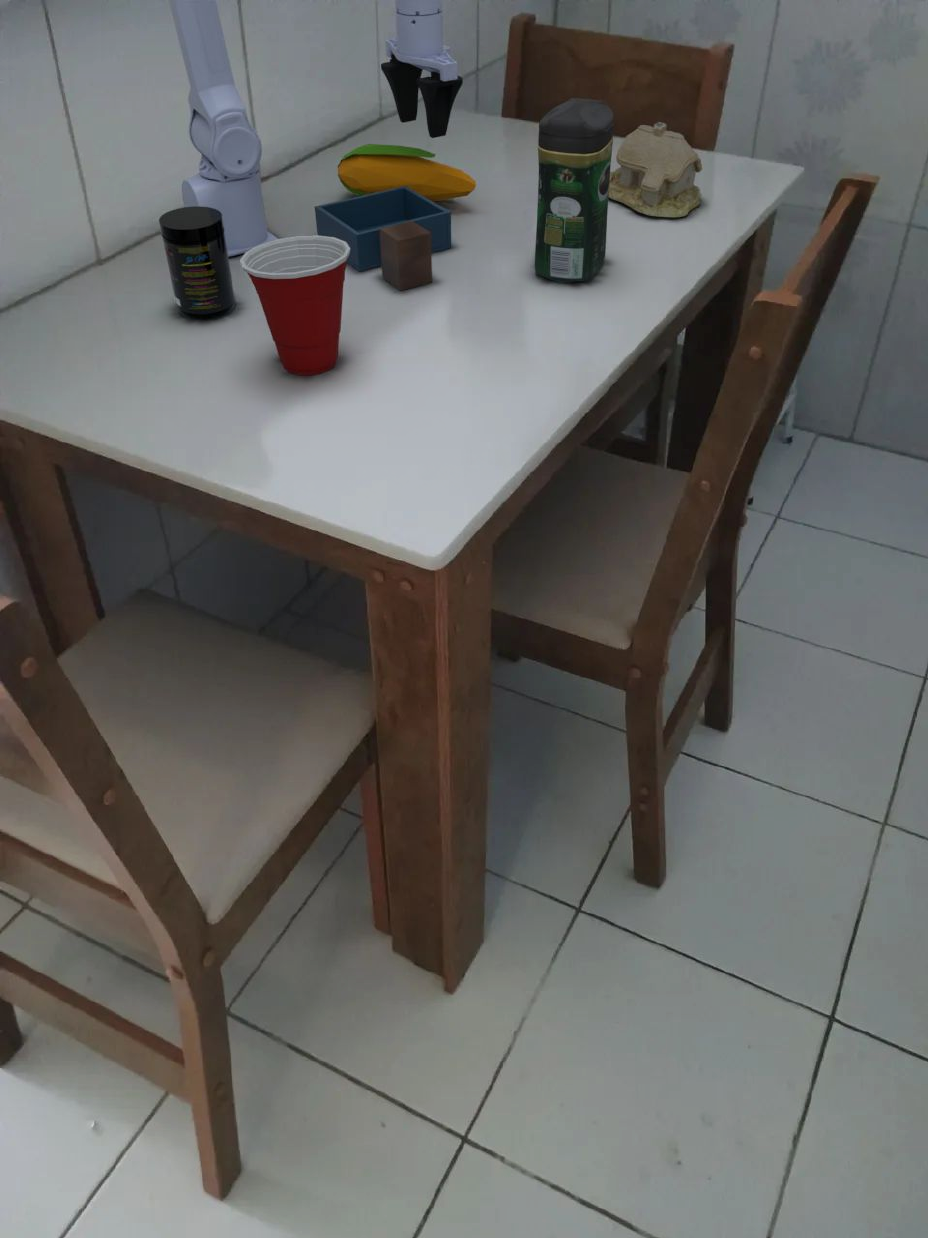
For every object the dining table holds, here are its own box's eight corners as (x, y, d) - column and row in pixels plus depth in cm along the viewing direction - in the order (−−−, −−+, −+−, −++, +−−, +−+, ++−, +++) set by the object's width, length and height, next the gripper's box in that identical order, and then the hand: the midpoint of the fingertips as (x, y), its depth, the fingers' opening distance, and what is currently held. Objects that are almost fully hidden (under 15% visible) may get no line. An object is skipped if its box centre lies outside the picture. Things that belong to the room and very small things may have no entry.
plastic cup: (308, 329, 117) (296, 220, 109) (380, 357, 112) (373, 245, 104) (234, 366, 111) (215, 253, 103) (306, 398, 106) (292, 282, 98)
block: (400, 291, 124) (397, 240, 120) (382, 278, 127) (379, 228, 123) (432, 282, 126) (431, 232, 122) (413, 269, 129) (411, 220, 125)
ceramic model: (717, 201, 145) (729, 124, 138) (670, 224, 139) (679, 144, 132) (634, 177, 152) (641, 103, 146) (585, 199, 146) (590, 121, 140)
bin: (359, 271, 129) (356, 234, 126) (318, 241, 136) (314, 206, 133) (451, 247, 134) (451, 211, 131) (407, 219, 141) (405, 185, 138)
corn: (347, 128, 146) (485, 142, 141) (353, 184, 151) (486, 199, 146) (325, 149, 141) (467, 164, 136) (332, 205, 146) (469, 222, 141)
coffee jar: (549, 249, 133) (556, 89, 121) (610, 257, 131) (624, 95, 119) (525, 279, 126) (529, 113, 114) (589, 289, 124) (601, 120, 112)
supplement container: (246, 312, 121) (231, 220, 114) (189, 327, 118) (171, 234, 111) (223, 291, 125) (208, 201, 118) (168, 305, 122) (149, 214, 115)
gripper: (478, 17, 127) (478, 137, 135) (417, -5, 136) (421, 109, 145) (427, 25, 124) (431, 147, 133) (368, 2, 133) (375, 118, 142)
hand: (422, 128), depth 139 cm, fingers open, 7 cm apart
